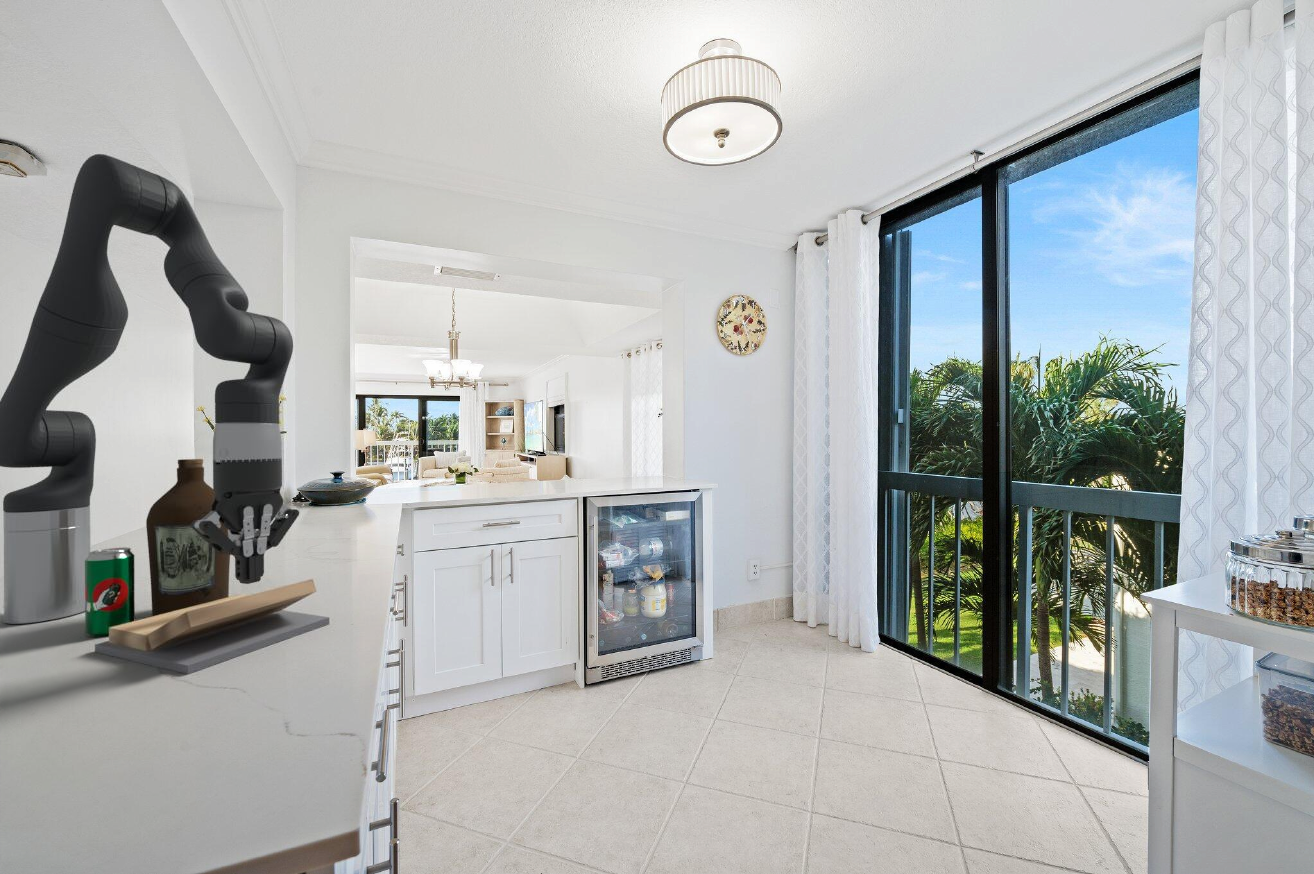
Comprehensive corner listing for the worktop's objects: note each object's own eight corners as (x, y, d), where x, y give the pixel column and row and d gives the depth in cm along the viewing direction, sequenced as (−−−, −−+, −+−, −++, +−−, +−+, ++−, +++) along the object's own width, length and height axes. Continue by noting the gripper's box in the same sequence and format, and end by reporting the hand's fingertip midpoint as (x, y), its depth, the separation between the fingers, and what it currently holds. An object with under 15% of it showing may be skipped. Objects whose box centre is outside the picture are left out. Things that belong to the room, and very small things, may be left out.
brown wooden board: (151, 649, 67) (147, 634, 67) (280, 610, 82) (276, 598, 82) (190, 627, 64) (186, 611, 64) (316, 591, 79) (312, 578, 79)
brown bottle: (155, 608, 88) (154, 459, 88) (236, 597, 94) (235, 457, 94) (138, 626, 79) (137, 461, 80) (228, 613, 85) (227, 459, 85)
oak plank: (109, 642, 70) (109, 627, 70) (240, 606, 85) (239, 594, 85) (146, 650, 67) (146, 635, 67) (275, 612, 82) (274, 599, 82)
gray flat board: (94, 651, 70) (94, 644, 70) (242, 610, 87) (242, 604, 87) (188, 674, 63) (188, 665, 63) (329, 623, 80) (329, 617, 80)
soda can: (144, 626, 80) (143, 546, 80) (106, 638, 75) (105, 554, 75) (114, 625, 80) (114, 546, 80) (74, 637, 75) (74, 553, 75)
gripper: (279, 455, 80) (280, 569, 80) (173, 458, 68) (175, 593, 68) (313, 455, 77) (315, 572, 77) (210, 458, 65) (212, 598, 65)
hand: (249, 582), depth 72 cm, fingers closed
